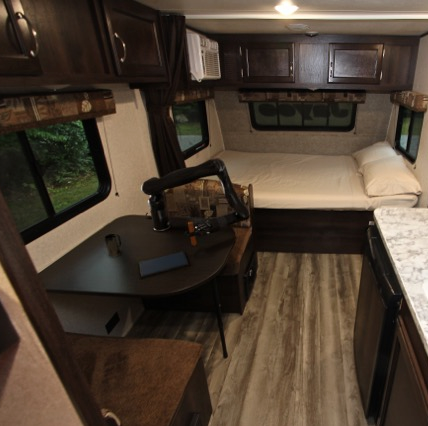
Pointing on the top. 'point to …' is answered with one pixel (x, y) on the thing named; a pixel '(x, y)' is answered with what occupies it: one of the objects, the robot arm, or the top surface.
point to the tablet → (163, 264)
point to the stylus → (193, 239)
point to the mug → (113, 244)
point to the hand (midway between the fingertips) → (186, 234)
